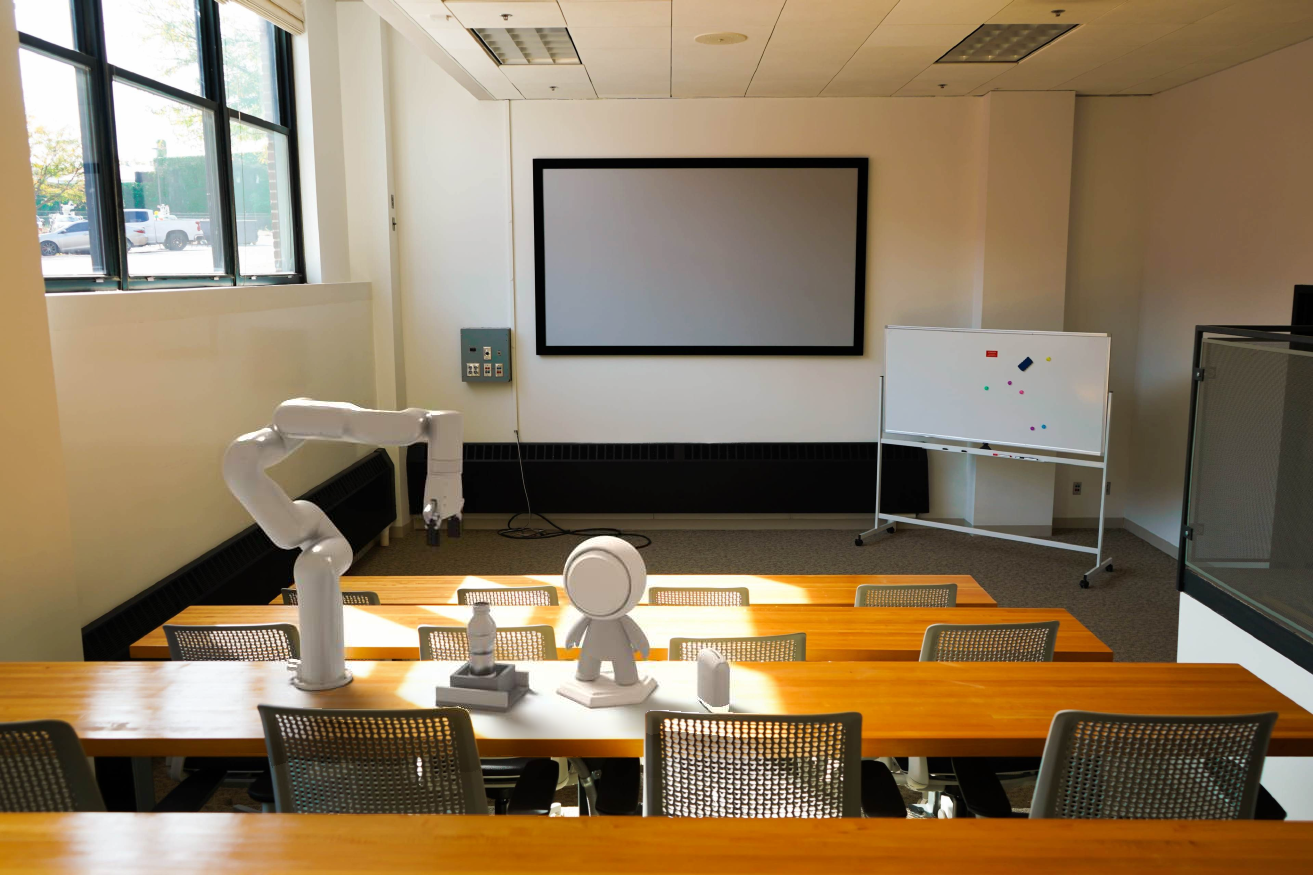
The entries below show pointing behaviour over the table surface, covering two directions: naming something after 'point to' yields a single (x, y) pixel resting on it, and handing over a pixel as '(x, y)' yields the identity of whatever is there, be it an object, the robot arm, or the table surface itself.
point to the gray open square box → (484, 689)
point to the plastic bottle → (481, 641)
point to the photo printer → (713, 678)
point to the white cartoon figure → (606, 623)
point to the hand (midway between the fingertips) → (443, 541)
